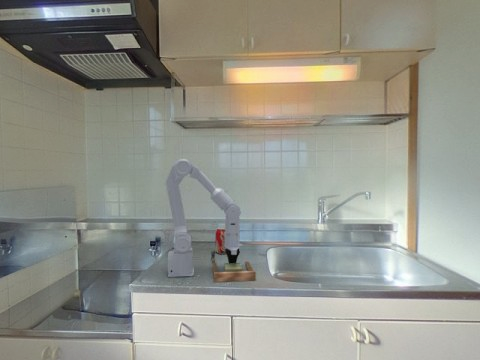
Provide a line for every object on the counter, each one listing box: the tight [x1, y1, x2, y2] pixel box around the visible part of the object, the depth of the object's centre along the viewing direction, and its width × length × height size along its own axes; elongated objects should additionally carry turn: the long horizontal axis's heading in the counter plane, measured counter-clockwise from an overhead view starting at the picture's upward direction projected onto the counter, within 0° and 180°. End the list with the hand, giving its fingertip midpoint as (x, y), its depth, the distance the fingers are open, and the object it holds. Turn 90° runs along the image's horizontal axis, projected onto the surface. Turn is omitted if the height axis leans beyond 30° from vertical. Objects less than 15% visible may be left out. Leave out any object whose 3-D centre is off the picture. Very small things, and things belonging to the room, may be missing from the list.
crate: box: [223, 262, 243, 272], centre depth 118 cm, size 6×7×4 cm
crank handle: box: [210, 250, 216, 264], centre depth 137 cm, size 8×1×3 cm, turn 7°
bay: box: [212, 261, 257, 283], centre depth 121 cm, size 15×18×3 cm
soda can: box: [214, 226, 227, 255], centre depth 149 cm, size 7×7×12 cm
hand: (232, 267), depth 123 cm, fingers closed
